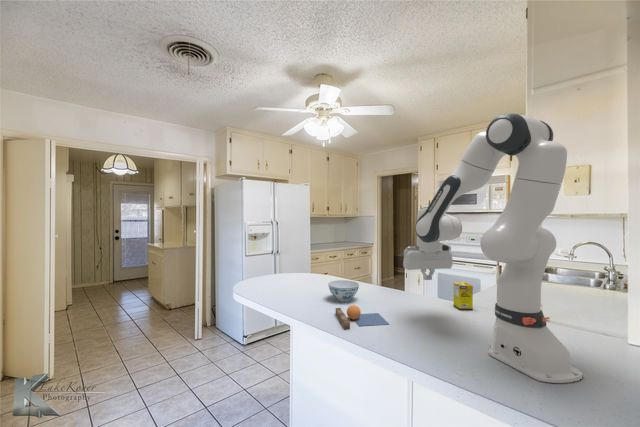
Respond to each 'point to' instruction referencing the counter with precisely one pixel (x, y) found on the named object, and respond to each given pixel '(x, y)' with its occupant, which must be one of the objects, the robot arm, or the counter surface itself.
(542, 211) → the robot arm
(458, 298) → the supplement box
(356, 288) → the chinaware
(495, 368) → the counter surface
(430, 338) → the counter surface
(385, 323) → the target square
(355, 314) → the ball
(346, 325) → the bar
